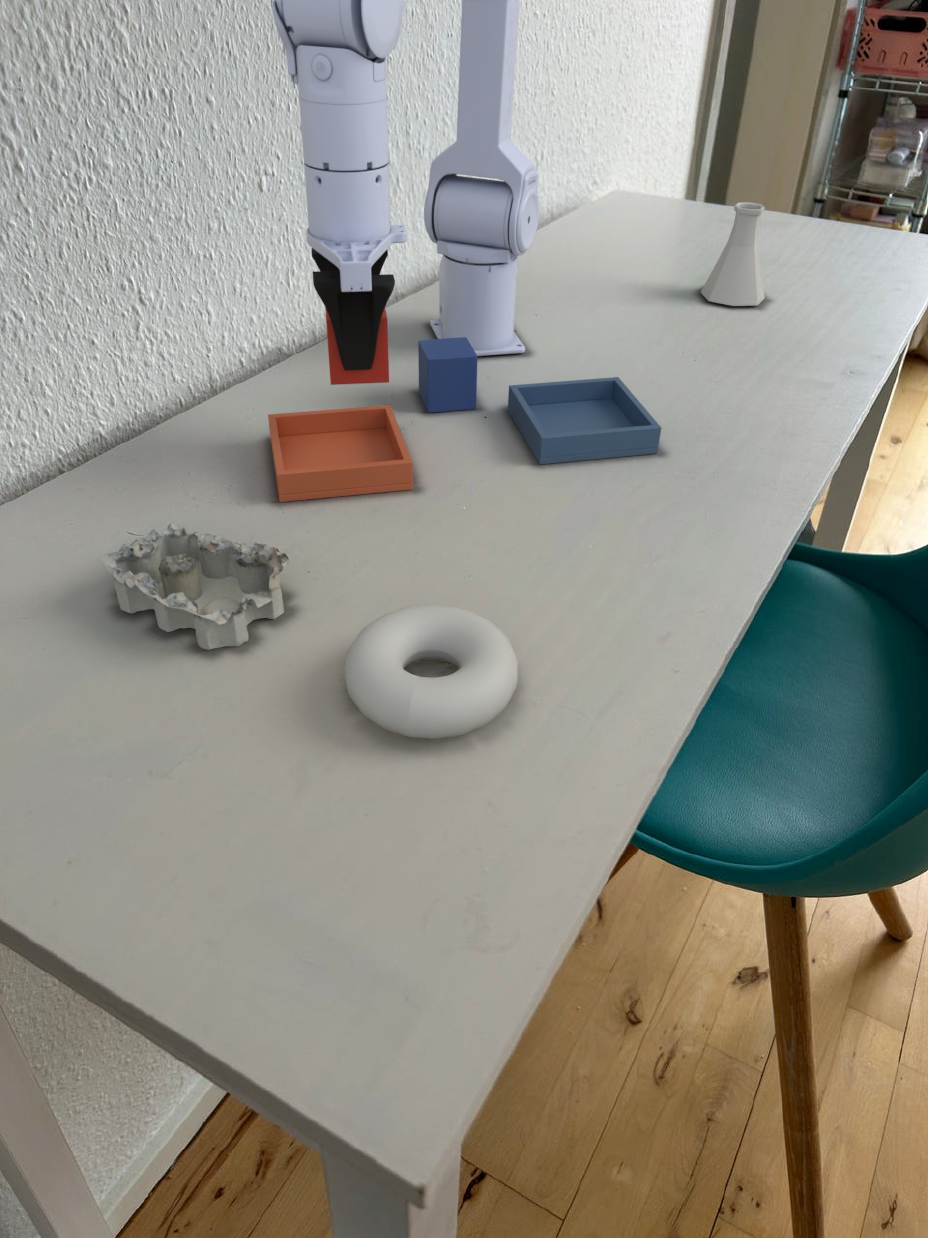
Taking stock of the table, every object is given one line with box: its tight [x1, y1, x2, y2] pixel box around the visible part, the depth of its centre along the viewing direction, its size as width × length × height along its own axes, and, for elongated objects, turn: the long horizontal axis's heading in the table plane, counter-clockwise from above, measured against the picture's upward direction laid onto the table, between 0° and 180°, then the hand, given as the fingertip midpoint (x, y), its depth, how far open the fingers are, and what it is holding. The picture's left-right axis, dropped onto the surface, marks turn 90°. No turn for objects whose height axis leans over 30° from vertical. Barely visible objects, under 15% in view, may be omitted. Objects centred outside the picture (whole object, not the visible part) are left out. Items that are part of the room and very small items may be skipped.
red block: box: [324, 307, 390, 386], centre depth 72 cm, size 4×4×5 cm
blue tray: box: [507, 376, 662, 465], centre depth 81 cm, size 10×10×2 cm
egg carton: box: [96, 522, 290, 651], centre depth 60 cm, size 11×8×4 cm
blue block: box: [417, 337, 479, 414], centre depth 85 cm, size 4×4×5 cm
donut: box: [343, 603, 519, 740], centre depth 54 cm, size 10×4×10 cm
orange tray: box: [267, 404, 414, 503], centre depth 76 cm, size 10×10×2 cm
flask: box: [700, 201, 766, 307], centre depth 107 cm, size 7×7×10 cm
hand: (356, 355), depth 73 cm, fingers closed on red block, 4 cm apart
